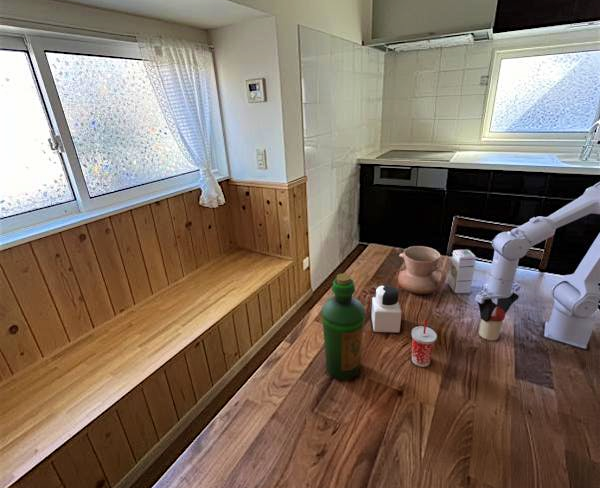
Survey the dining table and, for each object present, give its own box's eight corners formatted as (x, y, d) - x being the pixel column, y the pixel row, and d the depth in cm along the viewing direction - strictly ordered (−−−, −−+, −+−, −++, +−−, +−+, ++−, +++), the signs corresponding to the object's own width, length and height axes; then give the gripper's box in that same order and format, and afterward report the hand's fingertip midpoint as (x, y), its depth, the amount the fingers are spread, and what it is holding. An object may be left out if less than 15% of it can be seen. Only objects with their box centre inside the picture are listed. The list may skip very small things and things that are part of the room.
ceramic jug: (386, 285, 125) (388, 251, 119) (409, 272, 133) (413, 240, 127) (430, 307, 112) (435, 269, 106) (453, 290, 120) (458, 255, 114)
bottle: (362, 387, 83) (366, 291, 72) (319, 381, 85) (317, 287, 74) (363, 356, 93) (367, 267, 81) (325, 352, 95) (323, 264, 83)
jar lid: (492, 323, 92) (493, 318, 92) (476, 311, 97) (477, 307, 97) (509, 319, 94) (510, 314, 93) (493, 307, 99) (494, 303, 98)
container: (395, 317, 108) (398, 282, 102) (399, 333, 101) (403, 296, 95) (371, 316, 108) (372, 282, 103) (373, 332, 101) (375, 296, 96)
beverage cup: (412, 369, 88) (417, 325, 82) (406, 352, 93) (410, 310, 87) (436, 368, 87) (442, 325, 82) (428, 352, 93) (434, 310, 87)
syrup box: (470, 293, 118) (477, 256, 112) (453, 293, 118) (459, 256, 112) (463, 284, 123) (470, 249, 117) (447, 285, 123) (452, 249, 118)
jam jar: (498, 331, 99) (504, 310, 96) (498, 342, 95) (503, 320, 92) (479, 326, 102) (483, 305, 98) (477, 337, 97) (482, 315, 94)
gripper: (507, 263, 96) (498, 303, 102) (469, 275, 91) (462, 315, 97) (531, 274, 90) (520, 316, 95) (492, 287, 85) (482, 330, 91)
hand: (492, 317), depth 96 cm, fingers closed on jar lid, 5 cm apart
